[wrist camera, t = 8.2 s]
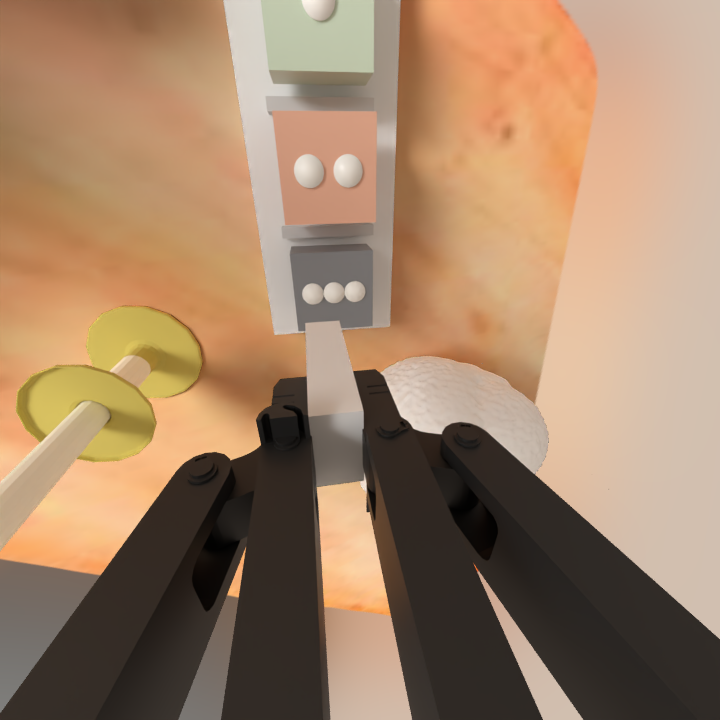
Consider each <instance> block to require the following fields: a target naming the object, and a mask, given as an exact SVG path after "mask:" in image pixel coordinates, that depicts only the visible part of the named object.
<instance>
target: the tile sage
mask: <svg viewBox="0 0 720 720" xmlns="http://www.w3.org/2000/svg"><path fill="white" fill-rule="evenodd" d="M261 6H262V15H263V24H264V33H265V42H266V50H267V59H268V68H269V72H270V75H271V78H272V81H273V84H301V85H353V86H366V84H367V83H368V81H369V79H370V78H371V76H372V75H373V73H374V0H261Z"/></svg>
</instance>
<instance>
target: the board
mask: <svg viewBox="0 0 720 720" xmlns="http://www.w3.org/2000/svg"><path fill="white" fill-rule="evenodd" d="M223 1H224V8H225V15H226V21H227V28H228V34H229V41H230V47H231V54H232V60H233V67H234V73H235V80H236V87H237V93H238V100H239V106H240V113H241V119H242V126H243V132H244V139H245V145H246V152H247V159H248V165H249V172H250V178H251V185H252V191H253V198H254V204H255V211H256V217H257V224H258V231H259V237H260V244H261V250H262V257H263V263H264V270H265V276H266V283H267V289H268V296H269V303H270V309H271V316H272V322H273V329H274V335H279V334H293V333H306V332H305V331H298V323H297V314H296V306H295V297H294V288H293V279H292V270H291V262H290V250H291V246H315V245H341V244H367V245H368V246H369V247H370V248H371V249H372V250H373V326H369V327H355V328H341V329H342V330H350V329H364V328H378V327H390V311H391V280H392V249H393V218H394V187H395V156H396V125H397V94H398V63H399V32H400V1H401V0H374V73H373V75H372V76H371V78H370V79H369V81H368V83H367V84H366V86H353V85H301V84H273V81H272V78H271V75H270V72H269V68H268V59H267V50H266V42H265V33H264V24H263V15H262V6H261V0H223ZM272 111H373V112H377V164H376V222H372V223H340V224H308V225H285V219H284V210H283V201H282V193H281V184H280V175H279V167H278V158H277V149H276V141H275V132H274V123H273V115H272Z"/></svg>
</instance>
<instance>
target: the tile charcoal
mask: <svg viewBox="0 0 720 720" xmlns="http://www.w3.org/2000/svg"><path fill="white" fill-rule="evenodd" d="M290 262H291V270H292V279H293V288H294V297H295V306H296V314H297V323H298V331H305V323H312V322H326V321H339V322H340V326H341V328H355V327H369V326H373V250H372V249H371V248H370V247H369V246H368V245H367V244H341V245H315V246H291V250H290Z"/></svg>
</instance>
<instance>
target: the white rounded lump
mask: <svg viewBox="0 0 720 720" xmlns="http://www.w3.org/2000/svg"><path fill="white" fill-rule="evenodd" d="M482 364H483V363H482ZM380 373H381V374H382V375H383V376H384V378H385V380H386V383H387V386H388V387H389V390H390V393H391V394H392V397H393V399H394V402H395V404H396V406H397V409H398V411H399V413H400V416H401V417H402V418H404V419H405V420H407V421H408V422H409V423H410V424H411V426H412V427H413V429H416V430H418V431H422V432H427V433H435V434H442V431H443V430H444V428H445V427H446V426H448V425H450V424H451V423H457V422H465V423H471V424H474V425H477V426H479V427H481V428H482V429H484V430H485V431H487V432H488V433H489V434H490V435H491V436H492V437H493V438H494V439H496V440H497V441H498V442H499V443H500V444H501V445H502V446H503V447H504V448H506V449H507V450H508V451H509V452H510V453H511V454H512V455H513V456H515V457H516V458H517V459H518V460H519V461H520V462H521V463H522V464H524V465H525V466H526V467H527V468H528V469H529V470H530V471H531V472H533V473H534V474H536V471H538V469H539V468H540V467H541V465H542V462H543V461H544V459H545V457H546V453H547V448H548V443H549V438H548V431H547V427H546V424H545V423H544V419H543V417H542V416H541V413H540V412H539V410H538V408H537V406H535V405H534V403H533V402H532V401H531V400H529V399H528V398H527V397H526V396H525V395H524V394H523V393H521V392H518V390H516V389H513V388H512V386H511V385H510V384H509V382H508V381H507V380H506V379H504V378H502V377H501V376H498V375H496V374H494V373H491V372H488V371H485V370H482V369H481V368H479V367H478V366H476V365H471V364H469V363H460V362H456V361H455V360H451V359H447V358H441V357H434V356H420V357H410V358H406V359H405V360H403V361H397V363H395V364H394V365H390V366H389V367H388V368H385V370H384V371H382V372H380ZM360 484H361V487H362V488H363V489H364V490H365V492H366V494H367V483H366V478H365V474H364V481H360Z"/></svg>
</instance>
